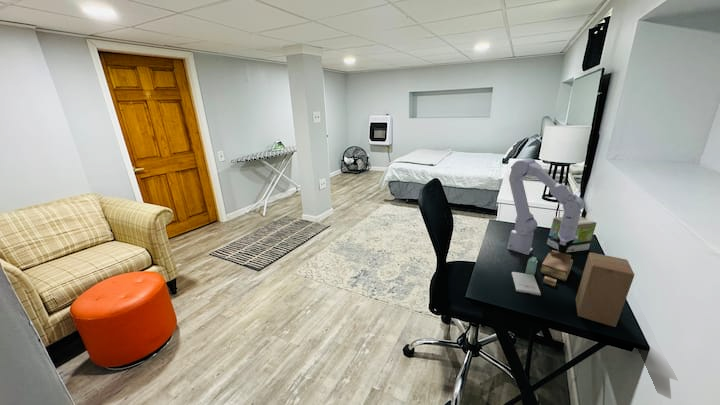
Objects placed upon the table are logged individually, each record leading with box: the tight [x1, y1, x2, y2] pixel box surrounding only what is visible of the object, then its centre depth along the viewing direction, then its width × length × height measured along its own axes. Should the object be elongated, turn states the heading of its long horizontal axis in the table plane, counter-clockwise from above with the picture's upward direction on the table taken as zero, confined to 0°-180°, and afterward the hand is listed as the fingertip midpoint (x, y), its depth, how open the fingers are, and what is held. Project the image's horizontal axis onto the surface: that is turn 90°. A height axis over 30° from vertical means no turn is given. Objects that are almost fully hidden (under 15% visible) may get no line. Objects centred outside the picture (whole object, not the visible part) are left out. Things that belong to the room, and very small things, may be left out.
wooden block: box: [575, 251, 635, 328], centre depth 94 cm, size 10×10×20 cm
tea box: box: [546, 215, 597, 254], centre depth 137 cm, size 15×10×15 cm
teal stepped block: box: [524, 256, 539, 276], centre depth 118 cm, size 3×4×7 cm
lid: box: [541, 249, 574, 273], centre depth 119 cm, size 9×12×3 cm
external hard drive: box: [511, 271, 542, 296], centre depth 113 cm, size 2×8×12 cm
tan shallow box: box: [539, 261, 574, 287], centre depth 118 cm, size 9×19×3 cm, turn 137°
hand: (561, 253), depth 124 cm, fingers closed
